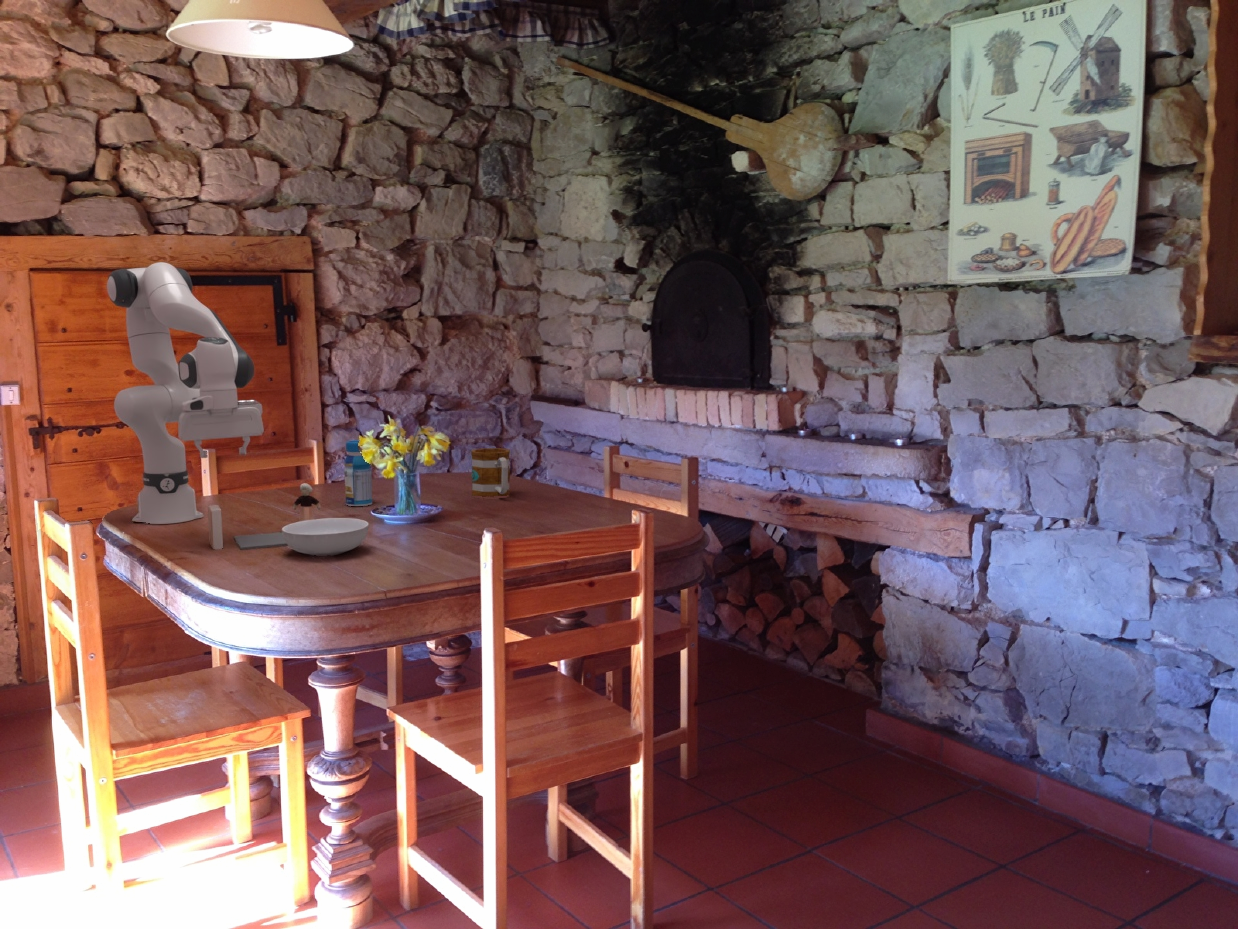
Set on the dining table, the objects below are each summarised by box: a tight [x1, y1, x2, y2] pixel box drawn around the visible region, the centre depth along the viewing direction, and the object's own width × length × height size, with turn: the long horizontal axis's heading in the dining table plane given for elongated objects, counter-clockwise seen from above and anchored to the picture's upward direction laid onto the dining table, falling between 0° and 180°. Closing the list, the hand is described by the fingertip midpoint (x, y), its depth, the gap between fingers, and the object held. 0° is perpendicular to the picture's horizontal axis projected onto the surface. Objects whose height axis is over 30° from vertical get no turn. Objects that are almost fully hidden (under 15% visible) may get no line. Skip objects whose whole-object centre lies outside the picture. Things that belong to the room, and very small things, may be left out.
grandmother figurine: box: [292, 482, 322, 522], centre depth 288 cm, size 8×4×13 cm, turn 105°
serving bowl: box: [281, 517, 370, 557], centre depth 260 cm, size 21×21×7 cm
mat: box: [233, 531, 290, 551], centre depth 272 cm, size 15×16×1 cm
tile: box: [207, 504, 224, 550], centre depth 266 cm, size 8×2×10 cm, turn 27°
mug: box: [470, 447, 511, 497], centre depth 338 cm, size 20×14×15 cm
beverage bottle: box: [343, 439, 373, 507], centre depth 323 cm, size 8×8×20 cm
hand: (223, 456), depth 264 cm, fingers open, 8 cm apart
